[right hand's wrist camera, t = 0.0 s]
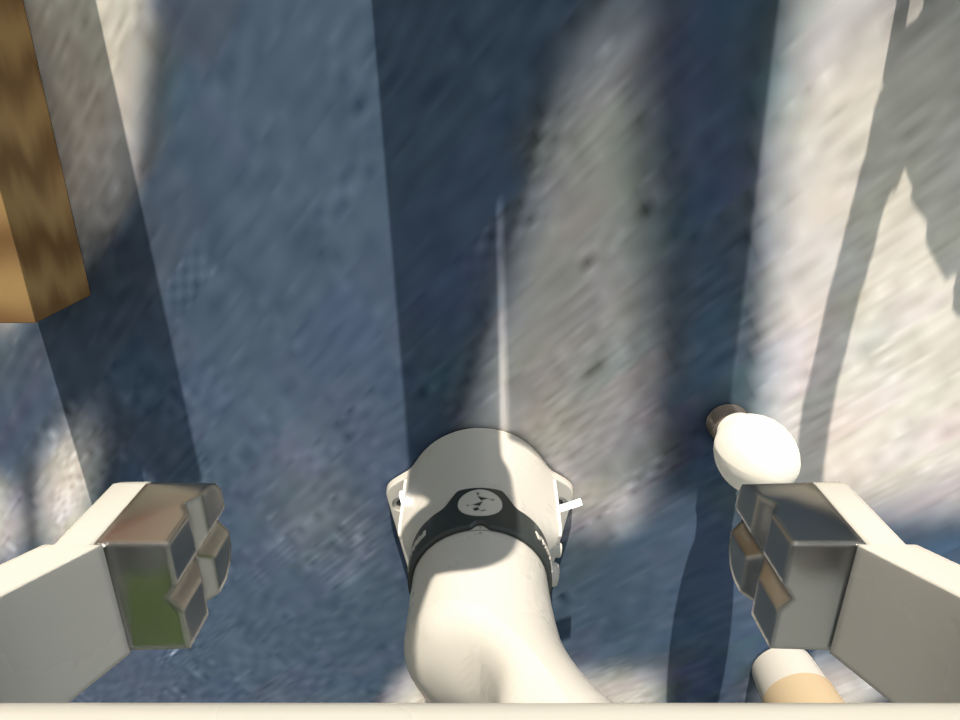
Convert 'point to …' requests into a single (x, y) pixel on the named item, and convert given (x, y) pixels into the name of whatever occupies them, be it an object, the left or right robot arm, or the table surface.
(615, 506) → the table surface
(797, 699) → the coffee cup
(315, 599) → the table surface
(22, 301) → the bar
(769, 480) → the light bulb
